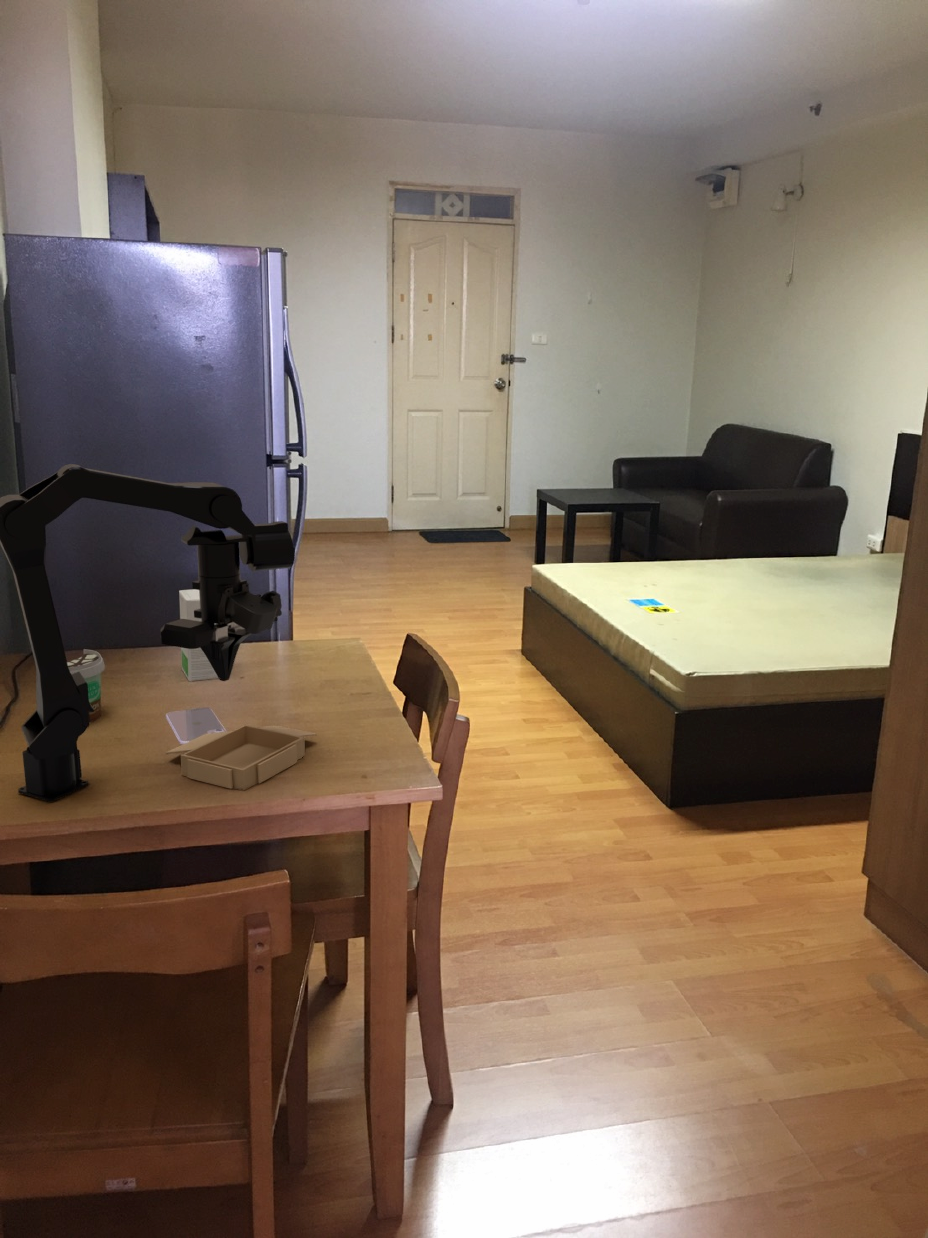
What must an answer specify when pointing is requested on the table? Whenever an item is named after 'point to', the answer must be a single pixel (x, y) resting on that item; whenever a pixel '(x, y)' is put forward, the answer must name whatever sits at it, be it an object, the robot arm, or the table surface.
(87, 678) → the food container
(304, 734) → the front flap
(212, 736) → the left flap
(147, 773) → the table surface
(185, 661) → the skincare box
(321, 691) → the table surface
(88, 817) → the table surface
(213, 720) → the mobile phone
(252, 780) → the carton
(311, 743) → the table surface
